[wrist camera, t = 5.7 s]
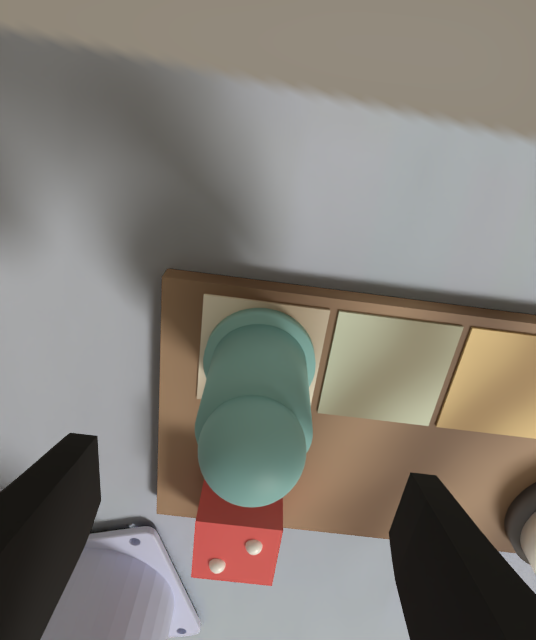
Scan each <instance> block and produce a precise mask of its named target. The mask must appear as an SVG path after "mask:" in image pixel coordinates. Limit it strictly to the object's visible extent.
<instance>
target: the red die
mask: <svg viewBox="0 0 536 640" xmlns="http://www.w3.org/2000/svg"><path fill="white" fill-rule="evenodd" d="M282 533H283V498H281V499H279V500H278V501H276V502H274V503H272V504H269V505H266V506H262V507H242V506H238V505H234V504H232V503H229V502H227V501H225V500H224V499H222V498H221V497H220V496H218V495H217V494H216V493H215V492H214V491H213V490H212V489H211V488H210V486H209V485H208V484H207V482H206V481H205V479H204V482H203V487H202V492H201V497H200V502H199V507H198V511H197V516H196V522H195V535H194V548H193V561H192V574H191V577H193V578H202V579H211V580H221V581H230V582H240V583H249V584H259V585H268V586H272V582H273V577H274V573H275V568H276V563H277V558H278V553H279V548H280V543H281V538H282Z"/></svg>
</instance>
